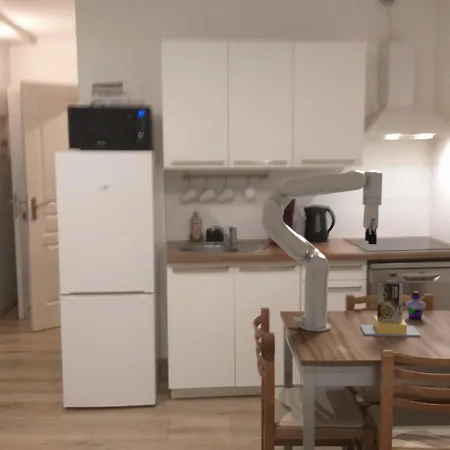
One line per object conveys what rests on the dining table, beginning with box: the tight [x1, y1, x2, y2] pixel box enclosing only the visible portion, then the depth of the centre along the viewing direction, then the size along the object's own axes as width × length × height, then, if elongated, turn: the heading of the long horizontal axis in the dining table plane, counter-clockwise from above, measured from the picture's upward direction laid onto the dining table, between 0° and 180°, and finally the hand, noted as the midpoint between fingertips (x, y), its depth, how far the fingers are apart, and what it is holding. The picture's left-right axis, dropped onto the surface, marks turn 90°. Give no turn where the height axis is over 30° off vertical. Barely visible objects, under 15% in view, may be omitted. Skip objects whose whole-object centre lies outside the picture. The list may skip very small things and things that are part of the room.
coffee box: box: [376, 279, 404, 323], centre depth 249 cm, size 9×6×16 cm
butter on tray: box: [359, 315, 421, 338], centre depth 250 cm, size 22×13×5 cm, turn 85°
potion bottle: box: [405, 291, 427, 321], centre depth 271 cm, size 9×9×12 cm
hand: (370, 242), depth 252 cm, fingers open, 9 cm apart
